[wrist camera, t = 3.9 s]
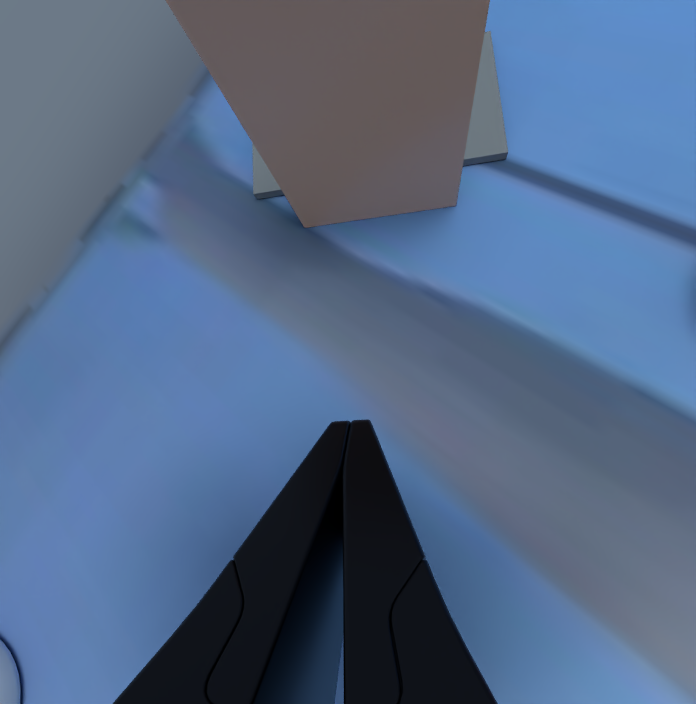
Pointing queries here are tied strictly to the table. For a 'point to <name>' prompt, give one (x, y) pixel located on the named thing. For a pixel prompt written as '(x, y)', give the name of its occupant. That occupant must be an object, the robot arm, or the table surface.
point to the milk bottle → (8, 678)
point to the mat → (482, 135)
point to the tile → (348, 95)
